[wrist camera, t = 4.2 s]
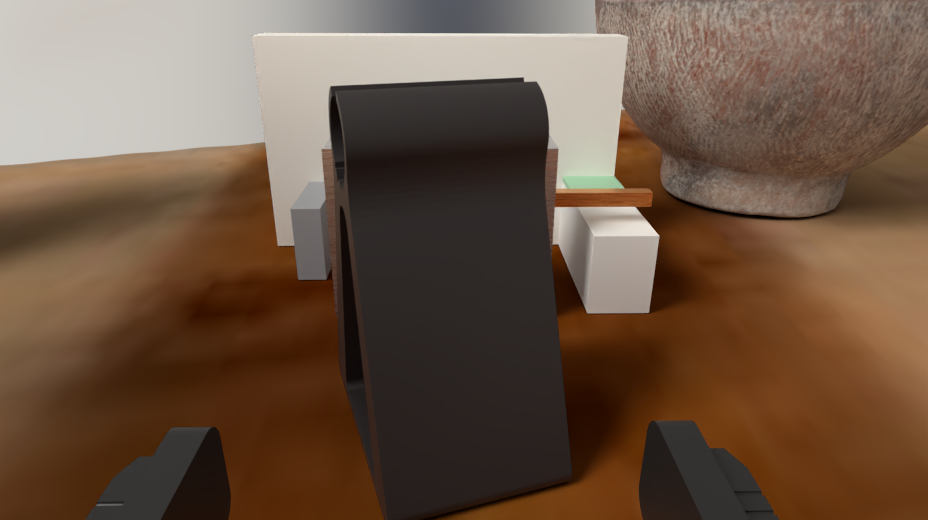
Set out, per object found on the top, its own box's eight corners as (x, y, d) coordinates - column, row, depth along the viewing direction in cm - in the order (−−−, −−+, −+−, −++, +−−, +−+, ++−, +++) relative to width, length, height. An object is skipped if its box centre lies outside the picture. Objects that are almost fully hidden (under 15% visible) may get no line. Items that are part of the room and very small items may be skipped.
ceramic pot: (1030, 224, 42) (1197, -209, 33) (746, 287, 33) (862, -282, 24) (745, 143, 63) (796, -135, 54) (524, 168, 55) (539, -159, 45)
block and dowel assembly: (336, 316, 30) (321, 149, 27) (345, 288, 33) (333, 133, 29) (652, 314, 30) (675, 148, 27) (635, 286, 33) (654, 133, 30)
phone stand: (571, 486, 20) (607, 104, 15) (386, 534, 18) (360, 119, 14) (476, 345, 28) (480, 62, 23) (339, 369, 26) (313, 68, 21)
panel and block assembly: (232, 316, 30) (190, 52, 25) (285, 233, 40) (262, 32, 35) (648, 312, 31) (684, 53, 26) (600, 232, 41) (619, 33, 36)
